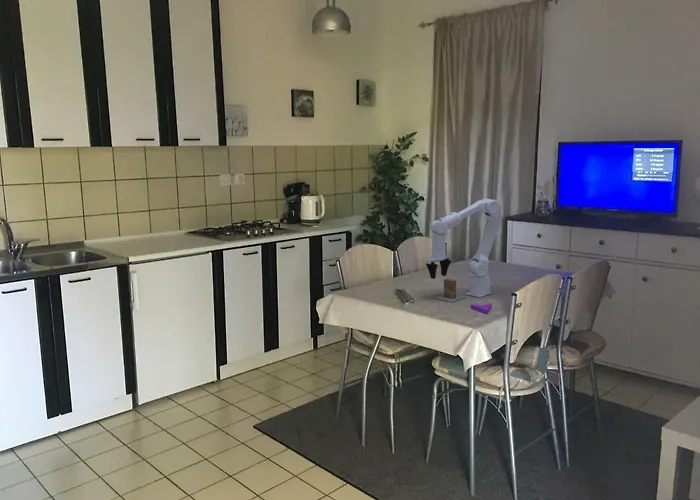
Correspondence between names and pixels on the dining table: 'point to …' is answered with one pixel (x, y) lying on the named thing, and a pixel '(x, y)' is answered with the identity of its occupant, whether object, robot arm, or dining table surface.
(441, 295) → the rubber mat
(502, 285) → the dining table surface
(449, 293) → the tall wooden plank
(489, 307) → the arrowhead
